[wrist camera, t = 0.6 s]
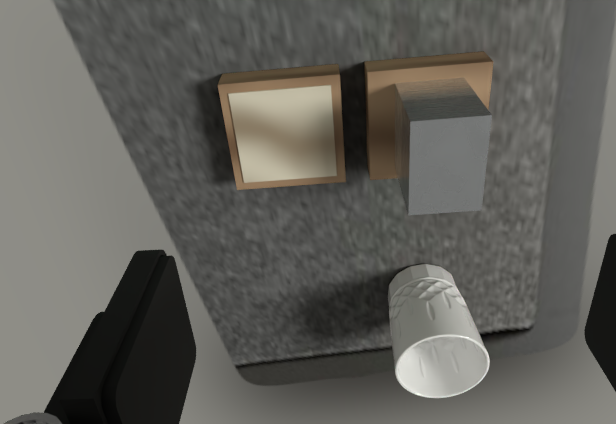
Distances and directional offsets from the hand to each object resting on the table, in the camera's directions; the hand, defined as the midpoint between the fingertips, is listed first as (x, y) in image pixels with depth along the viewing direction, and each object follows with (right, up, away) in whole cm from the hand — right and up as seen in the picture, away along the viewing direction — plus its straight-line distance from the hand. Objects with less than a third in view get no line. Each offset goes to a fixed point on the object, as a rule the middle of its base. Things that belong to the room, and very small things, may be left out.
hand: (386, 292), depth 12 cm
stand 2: (+7, +10, +31) cm, 33 cm away
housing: (+7, +8, +29) cm, 31 cm away
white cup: (+10, -6, +41) cm, 43 cm away
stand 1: (-4, +9, +31) cm, 33 cm away
